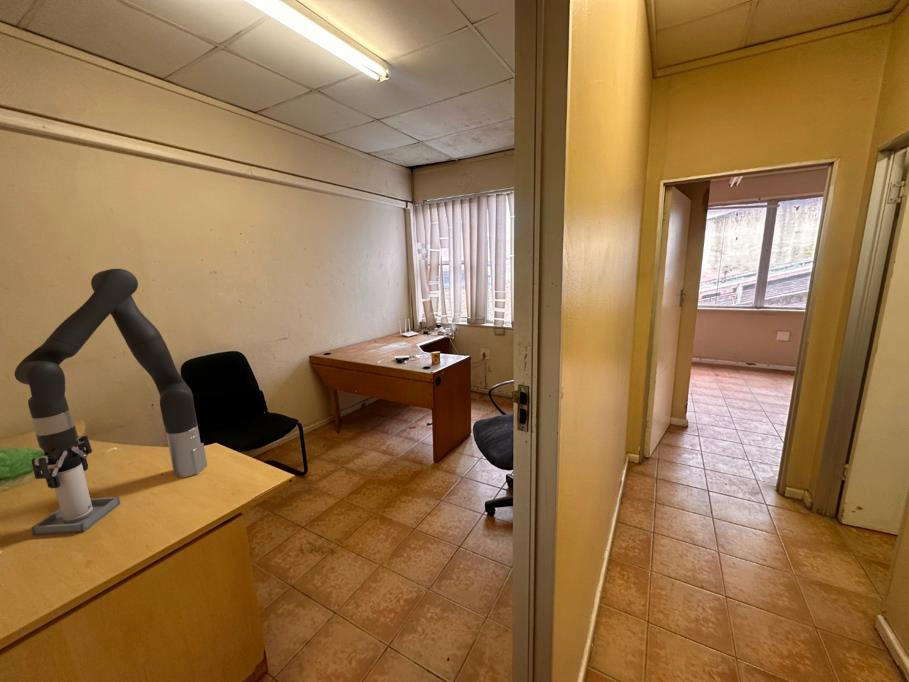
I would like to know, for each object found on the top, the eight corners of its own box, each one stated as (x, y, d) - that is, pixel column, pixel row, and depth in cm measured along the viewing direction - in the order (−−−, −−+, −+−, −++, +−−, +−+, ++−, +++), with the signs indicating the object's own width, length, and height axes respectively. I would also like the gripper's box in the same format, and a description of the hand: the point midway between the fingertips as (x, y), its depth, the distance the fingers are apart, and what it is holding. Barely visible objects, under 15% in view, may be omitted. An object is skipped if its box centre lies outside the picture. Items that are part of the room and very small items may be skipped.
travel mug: (99, 511, 109) (85, 452, 105) (71, 526, 103) (55, 464, 99) (87, 507, 111) (73, 449, 107) (58, 521, 105) (42, 460, 101)
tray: (120, 503, 113) (118, 496, 113) (84, 532, 101) (82, 524, 101) (75, 506, 112) (73, 499, 112) (33, 535, 100) (30, 527, 100)
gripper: (44, 439, 94) (60, 492, 97) (92, 416, 107) (104, 464, 111) (12, 441, 93) (30, 495, 96) (65, 418, 107) (78, 466, 110)
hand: (70, 478), depth 104 cm, fingers open, 8 cm apart
